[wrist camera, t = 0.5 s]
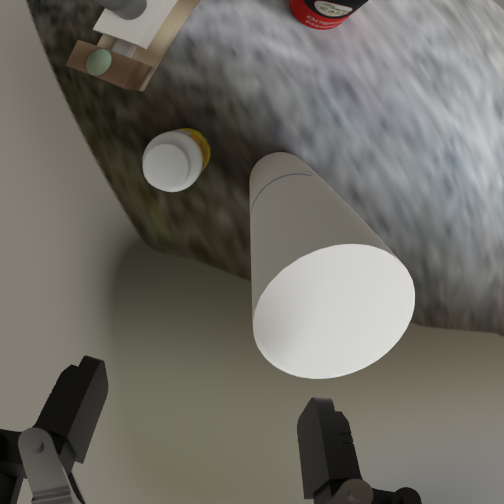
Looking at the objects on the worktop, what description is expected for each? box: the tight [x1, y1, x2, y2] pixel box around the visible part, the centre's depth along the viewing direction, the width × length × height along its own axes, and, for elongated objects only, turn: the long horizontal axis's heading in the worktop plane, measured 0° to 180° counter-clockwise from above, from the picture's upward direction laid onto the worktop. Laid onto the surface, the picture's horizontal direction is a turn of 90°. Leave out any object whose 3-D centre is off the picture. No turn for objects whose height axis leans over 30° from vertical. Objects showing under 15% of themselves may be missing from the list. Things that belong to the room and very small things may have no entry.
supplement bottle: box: [143, 128, 211, 192], centre depth 28 cm, size 6×6×10 cm
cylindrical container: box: [249, 152, 415, 379], centre depth 24 cm, size 7×7×25 cm
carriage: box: [93, 0, 178, 49], centre depth 19 cm, size 7×6×10 cm
